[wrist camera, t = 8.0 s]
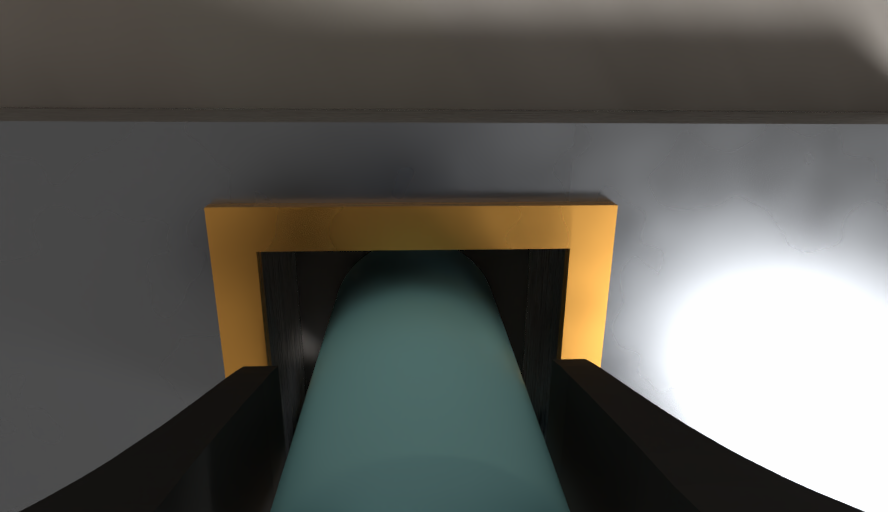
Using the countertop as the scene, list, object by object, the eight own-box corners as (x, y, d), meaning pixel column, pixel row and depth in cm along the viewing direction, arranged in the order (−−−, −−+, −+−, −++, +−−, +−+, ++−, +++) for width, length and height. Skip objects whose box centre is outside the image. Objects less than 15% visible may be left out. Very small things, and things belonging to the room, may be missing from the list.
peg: (497, 237, 14) (603, 449, 6) (491, 382, 15) (572, 702, 8) (330, 238, 14) (233, 460, 6) (338, 385, 15) (266, 719, 7)
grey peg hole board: (926, 111, 13) (1084, 126, 10) (831, 468, 17) (930, 561, 13) (-164, 106, 12) (-368, 121, 9) (-41, 498, 15) (-158, 612, 12)
